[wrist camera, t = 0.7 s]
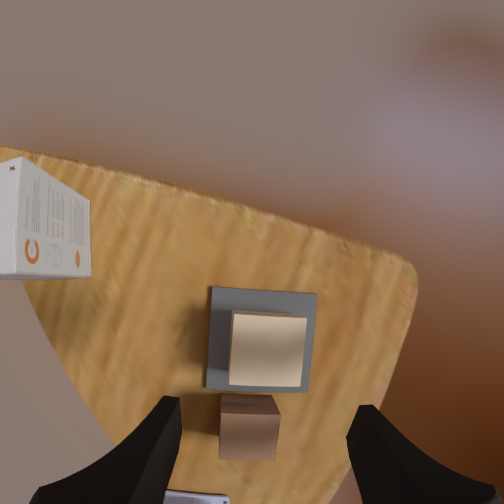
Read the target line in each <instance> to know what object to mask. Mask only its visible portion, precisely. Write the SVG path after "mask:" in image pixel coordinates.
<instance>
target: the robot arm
mask: <svg viewBox="0 0 504 504" xmlns="http://www.w3.org/2000/svg"><path fill="white" fill-rule="evenodd" d="M181 434H182V423H181V410H180V398H178V397H171V396H163V397H162V398H161V399H160V401H159V402H158V403H157V405H156V406H155V407H154V408H153V410H152V411H151V412H150V413H149V414H148V416H147V417H146V418H145V419H144V420H143V421H142V422H141V423H140V424H139V425H138V426H137V428H136V429H135V430H134V431H133V432H132V433H131V434H129V435H128V436H127V437H126V438H125V439H124V440H123V441H122V442H121V443H120V444H119V445H117V446H116V447H115V448H114V449H113V450H111V451H110V452H109V453H107V454H106V455H105V456H103V457H102V458H100V459H99V460H97V461H96V462H94V463H93V464H91V465H90V466H88V467H86V468H84V469H82V470H80V471H79V472H76V473H74V474H72V475H70V476H68V477H66V478H64V479H62V480H59V481H56V482H54V483H51V484H48V485H45V486H42V487H39V488H38V490H37V491H36V492H35V494H34V495H33V497H32V499H31V501H30V503H29V504H229V501H230V499H229V497H228V496H226V495H209V494H197V493H187V492H178V491H171V490H167V487H168V483H169V480H170V477H171V474H172V471H173V467H174V464H175V461H176V458H177V455H178V451H179V446H180V440H181ZM346 440H347V447H348V453H349V458H350V461H351V465H352V468H353V471H354V474H355V478H356V481H357V484H358V487H359V491H360V494H361V497H362V502H363V504H499V503H500V502H501V497H500V495H499V493H498V492H497V490H496V488H495V486H493V485H490V484H486V483H483V482H479V481H476V480H473V479H470V478H468V477H465V476H463V475H461V474H459V473H456V472H454V471H452V470H450V469H448V468H447V467H445V466H443V465H441V464H440V463H438V462H437V461H435V460H434V459H432V458H431V457H429V456H428V455H426V454H425V453H424V452H422V451H421V450H420V449H418V448H417V447H416V446H415V445H414V444H413V443H411V442H410V441H409V440H408V439H407V438H406V437H405V436H404V435H403V434H401V433H400V432H399V431H398V430H397V429H396V428H395V427H394V426H393V425H392V424H391V423H390V422H389V421H388V420H387V419H386V418H385V417H384V416H383V415H382V414H381V413H380V411H379V410H378V409H377V408H376V407H375V406H374V405H359V407H358V410H357V412H356V415H355V417H354V420H353V422H352V424H351V427H350V429H349V431H348V434H347V436H346ZM224 501H226V502H224Z"/></svg>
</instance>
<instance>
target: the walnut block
mask: <svg viewBox="0 0 504 504" xmlns="http://www.w3.org/2000/svg"><path fill="white" fill-rule="evenodd" d="M280 418H281V414H280V412H279V410H278V408H277V405H276V403H275V401H274V399H273V397H272V395H241V394H223V393H221V406H220V425H219V460H234V461H275V457H276V450H277V442H278V434H279V426H280Z"/></svg>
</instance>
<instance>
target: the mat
mask: <svg viewBox="0 0 504 504" xmlns="http://www.w3.org/2000/svg"><path fill="white" fill-rule="evenodd" d="M316 305H317V294H309V293H292V292H277V291H263V290H249V289H236V288H224V287H212V299H211V313H210V327H209V343H208V360H207V378H206V389H211V390H225V391H243V392H279V393H296V392H308V385H309V376H310V368H311V359H312V349H313V339H314V328H315V317H316ZM232 310H241V311H256V312H272V313H290V314H298V315H300V316H303V317H305V318H307V324H306V335H305V345H304V355H303V365H302V374H301V383H300V387H279V386H245V385H229V378H228V365H229V350H230V336H231V322H232Z"/></svg>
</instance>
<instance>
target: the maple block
mask: <svg viewBox="0 0 504 504" xmlns="http://www.w3.org/2000/svg"><path fill="white" fill-rule="evenodd" d="M306 324H307V318H305V317H303V316H300V315H298V314H290V313H272V312H256V311H241V310H232V322H231V336H230V350H229V365H228V378H229V385H245V386H279V387H300V383H301V374H302V365H303V355H304V345H305V335H306Z"/></svg>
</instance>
